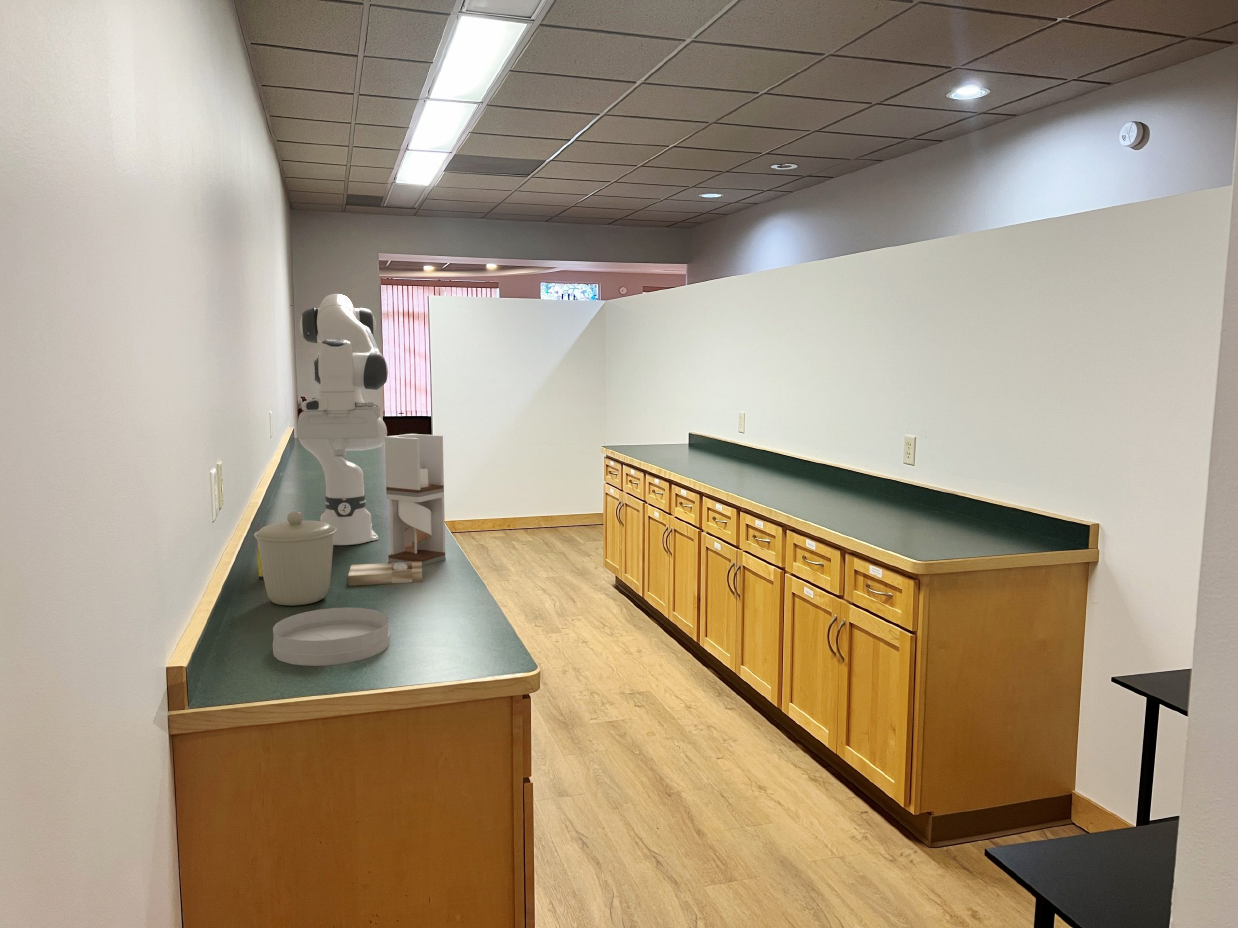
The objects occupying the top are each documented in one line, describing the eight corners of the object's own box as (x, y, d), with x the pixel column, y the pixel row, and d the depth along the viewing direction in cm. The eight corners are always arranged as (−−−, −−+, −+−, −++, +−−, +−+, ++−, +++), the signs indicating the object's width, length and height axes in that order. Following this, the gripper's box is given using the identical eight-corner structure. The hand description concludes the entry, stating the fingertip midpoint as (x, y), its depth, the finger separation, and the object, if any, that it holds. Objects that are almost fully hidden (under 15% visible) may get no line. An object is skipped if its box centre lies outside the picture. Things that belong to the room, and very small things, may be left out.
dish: (412, 646, 175) (411, 622, 174) (309, 675, 159) (307, 649, 158) (352, 623, 190) (351, 601, 189) (252, 648, 174) (251, 623, 173)
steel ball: (404, 576, 231) (389, 572, 229) (410, 562, 230) (395, 558, 229) (405, 580, 227) (390, 576, 225) (410, 566, 227) (395, 561, 225)
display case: (388, 562, 245) (384, 436, 240) (414, 554, 254) (411, 433, 250) (420, 566, 239) (416, 438, 235) (445, 558, 249) (442, 435, 244)
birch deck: (351, 574, 231) (351, 564, 231) (421, 570, 235) (421, 561, 235) (348, 585, 220) (348, 575, 219) (422, 581, 224) (422, 571, 223)
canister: (252, 613, 196) (247, 520, 193) (262, 592, 213) (258, 506, 210) (337, 607, 200) (334, 516, 198) (340, 587, 218) (337, 503, 215)
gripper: (380, 401, 232) (381, 453, 233) (298, 402, 227) (300, 455, 229) (379, 403, 225) (380, 456, 227) (294, 403, 221) (297, 458, 223)
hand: (339, 456), depth 228 cm, fingers closed
